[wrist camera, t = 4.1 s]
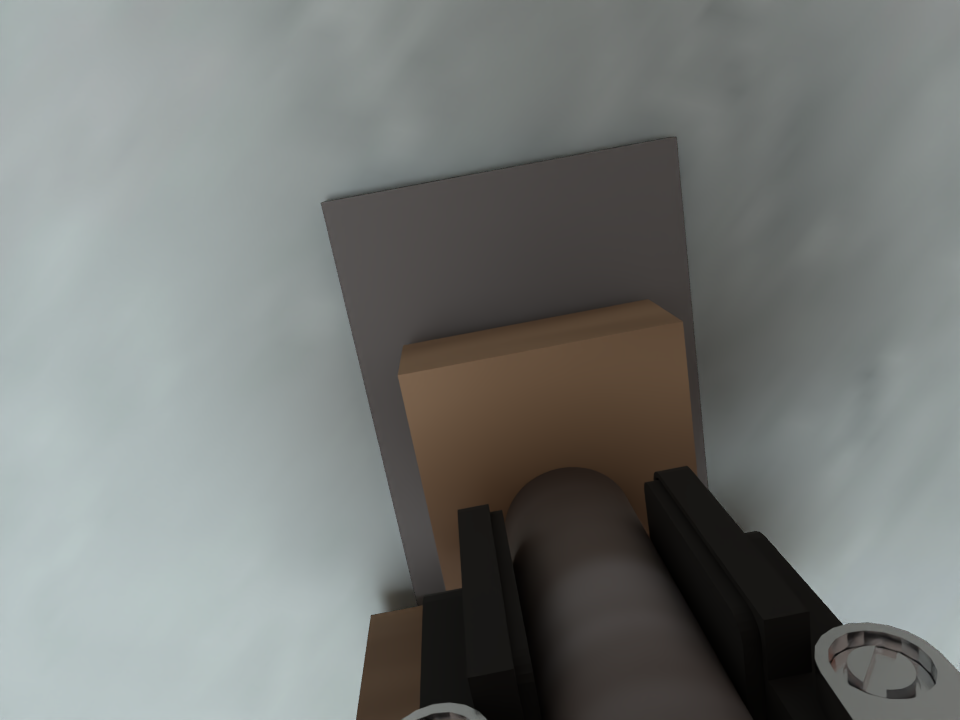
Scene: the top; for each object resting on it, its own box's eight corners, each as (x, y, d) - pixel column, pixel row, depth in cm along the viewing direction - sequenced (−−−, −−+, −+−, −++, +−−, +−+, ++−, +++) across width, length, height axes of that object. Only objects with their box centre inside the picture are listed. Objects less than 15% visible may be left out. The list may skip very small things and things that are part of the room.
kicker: (304, 364, 14) (135, 624, 6) (745, 280, 14) (1140, 431, 6) (389, 686, 16) (347, 1176, 8) (768, 614, 16) (1075, 1031, 8)
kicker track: (323, 201, 14) (320, 202, 13) (669, 137, 14) (676, 136, 13) (447, 720, 17) (448, 733, 17) (719, 667, 17) (725, 679, 17)
